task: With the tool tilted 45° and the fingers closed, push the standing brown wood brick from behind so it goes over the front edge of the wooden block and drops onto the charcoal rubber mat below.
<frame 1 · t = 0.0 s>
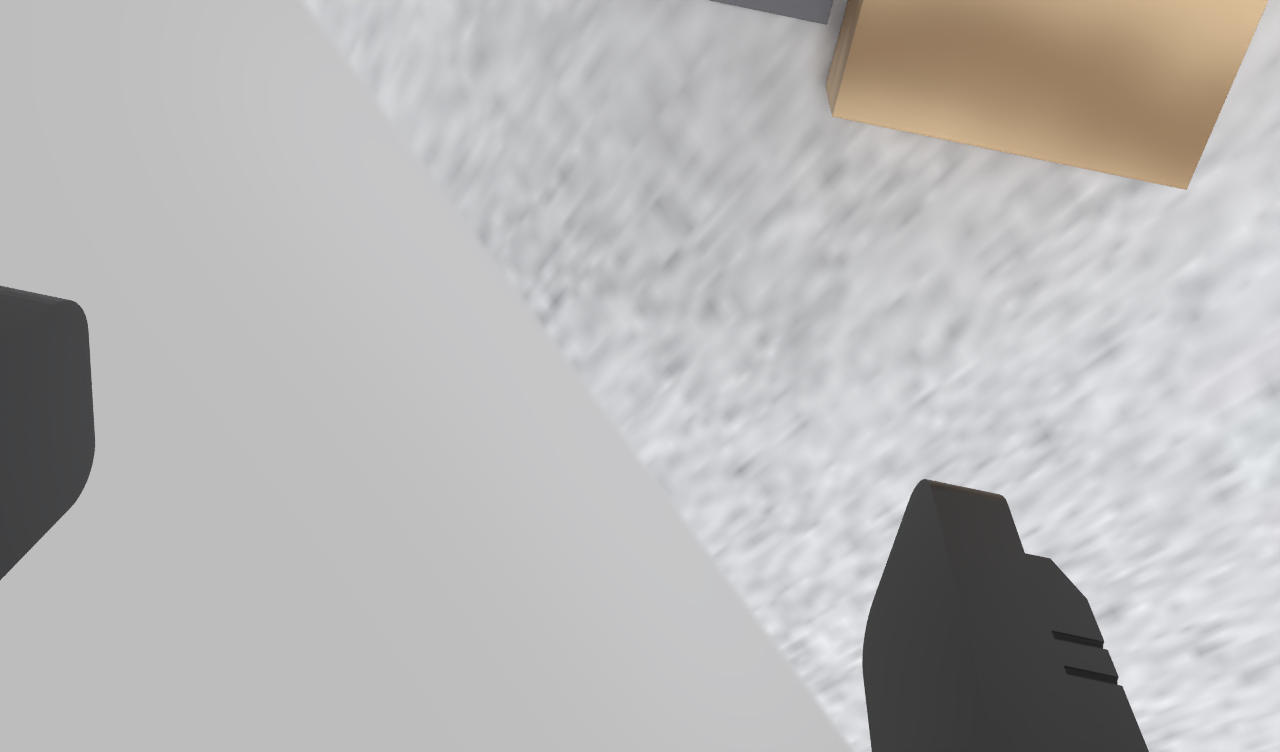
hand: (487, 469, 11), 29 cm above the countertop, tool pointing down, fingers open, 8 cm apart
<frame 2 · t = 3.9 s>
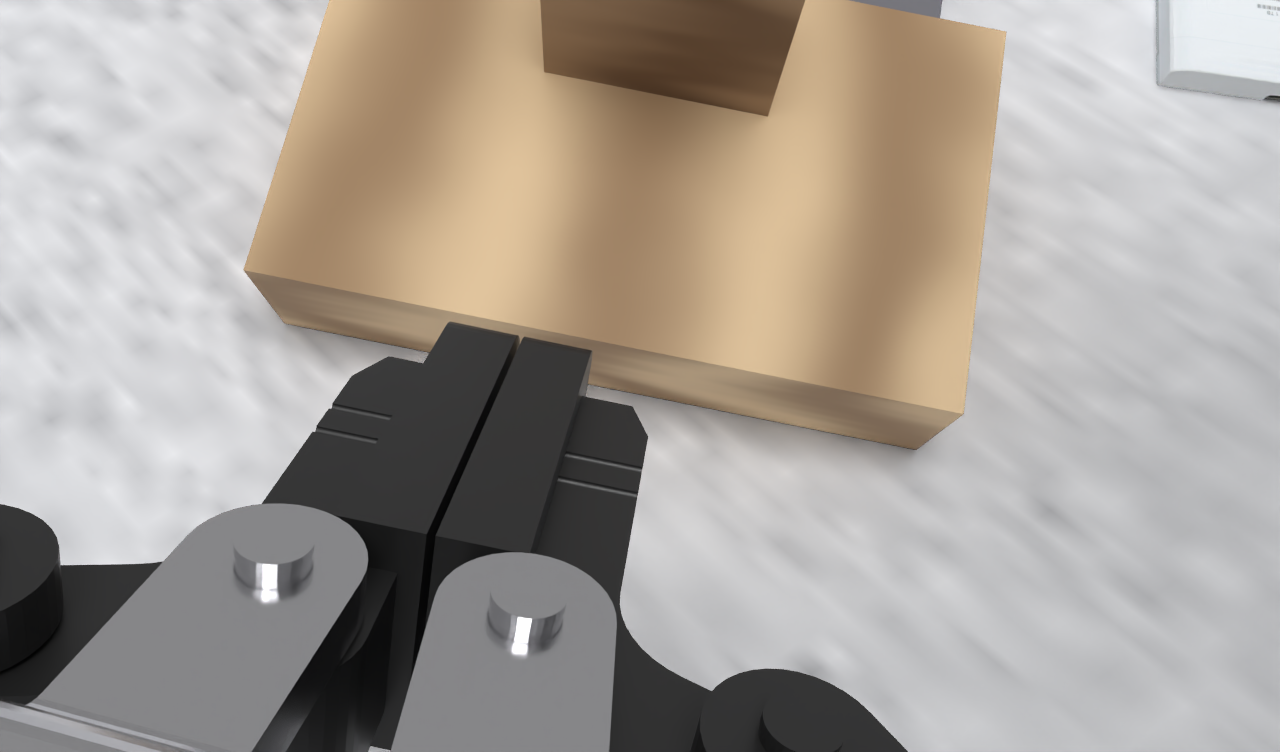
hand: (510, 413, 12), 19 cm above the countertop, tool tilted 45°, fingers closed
wooden block: (637, 209, 33), on the countertop
brown wood brick: (666, 45, 30), point 4 cm above the countertop, touching wooden block
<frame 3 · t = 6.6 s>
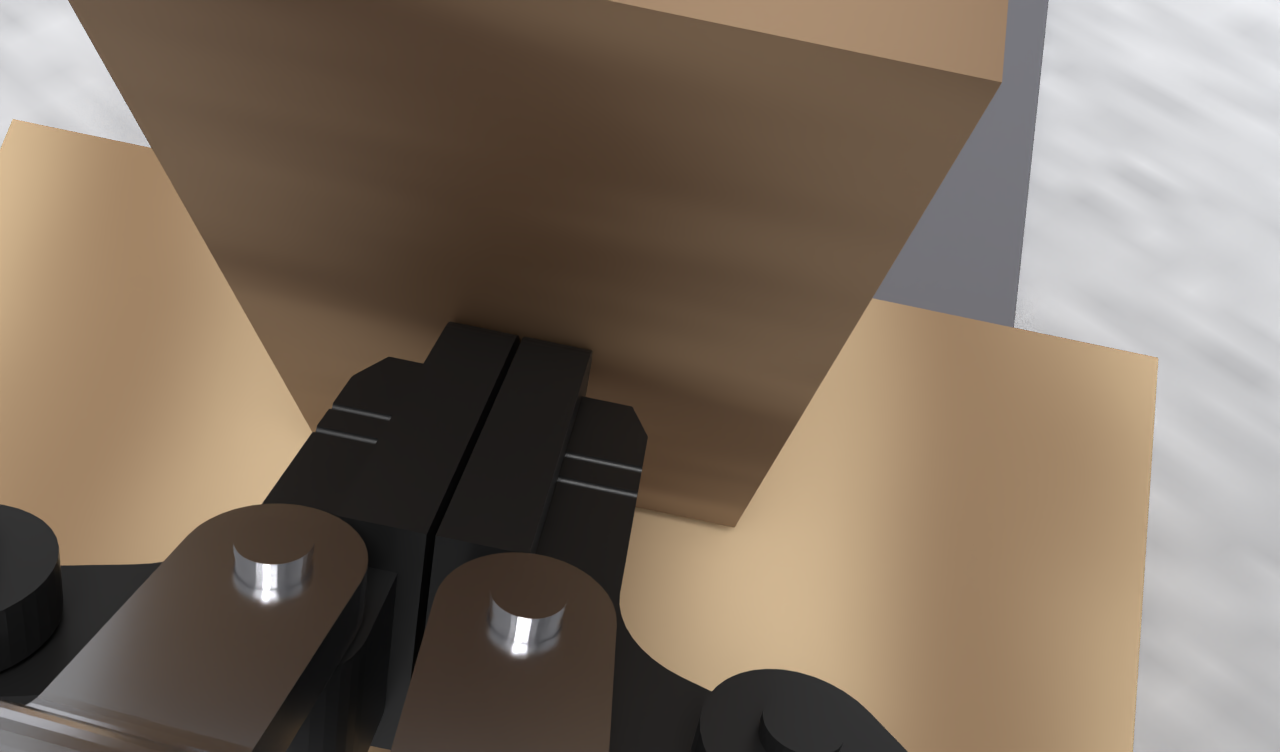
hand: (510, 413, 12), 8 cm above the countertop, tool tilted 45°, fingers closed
wooden block: (515, 616, 19), on the countertop
brown wood brick: (549, 387, 16), point 4 cm above the countertop, tilted 6°, touching wooden block, gripper
mat: (673, 36, 23), on the countertop
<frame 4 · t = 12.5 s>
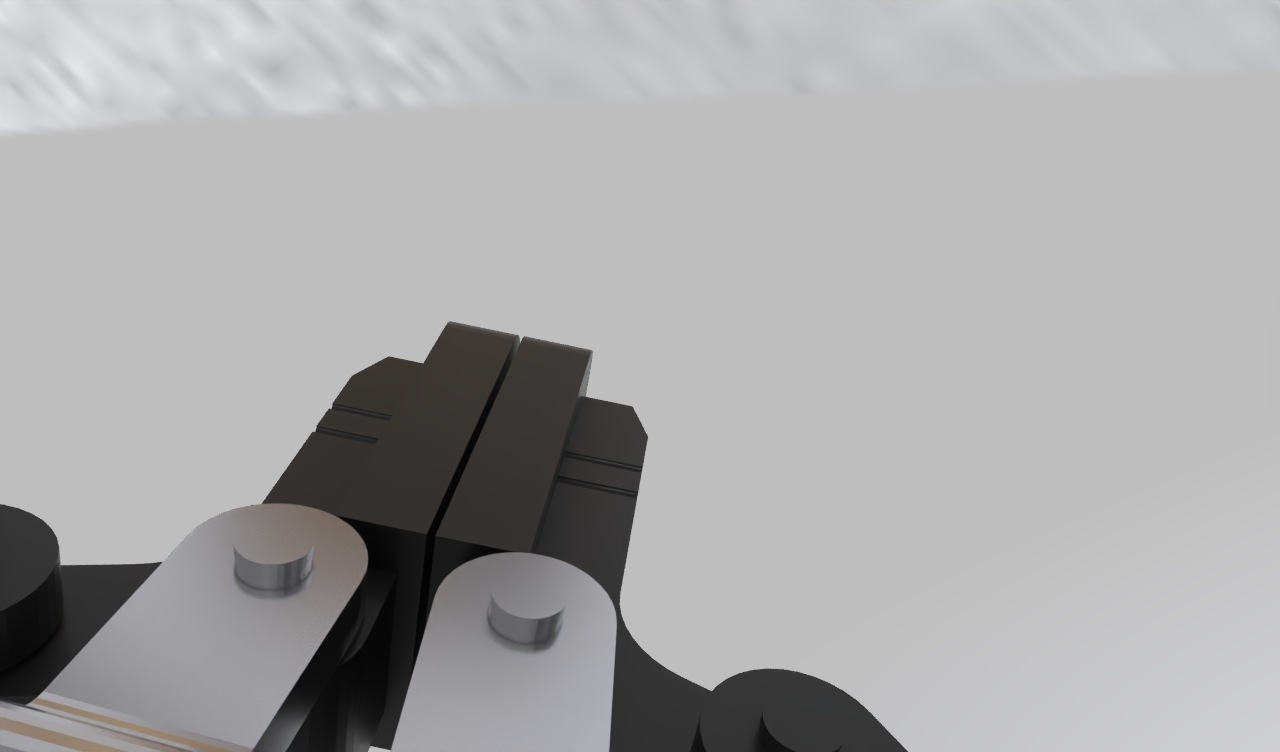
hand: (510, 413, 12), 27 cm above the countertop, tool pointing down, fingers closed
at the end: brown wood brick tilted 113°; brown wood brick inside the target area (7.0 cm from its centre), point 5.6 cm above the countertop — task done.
